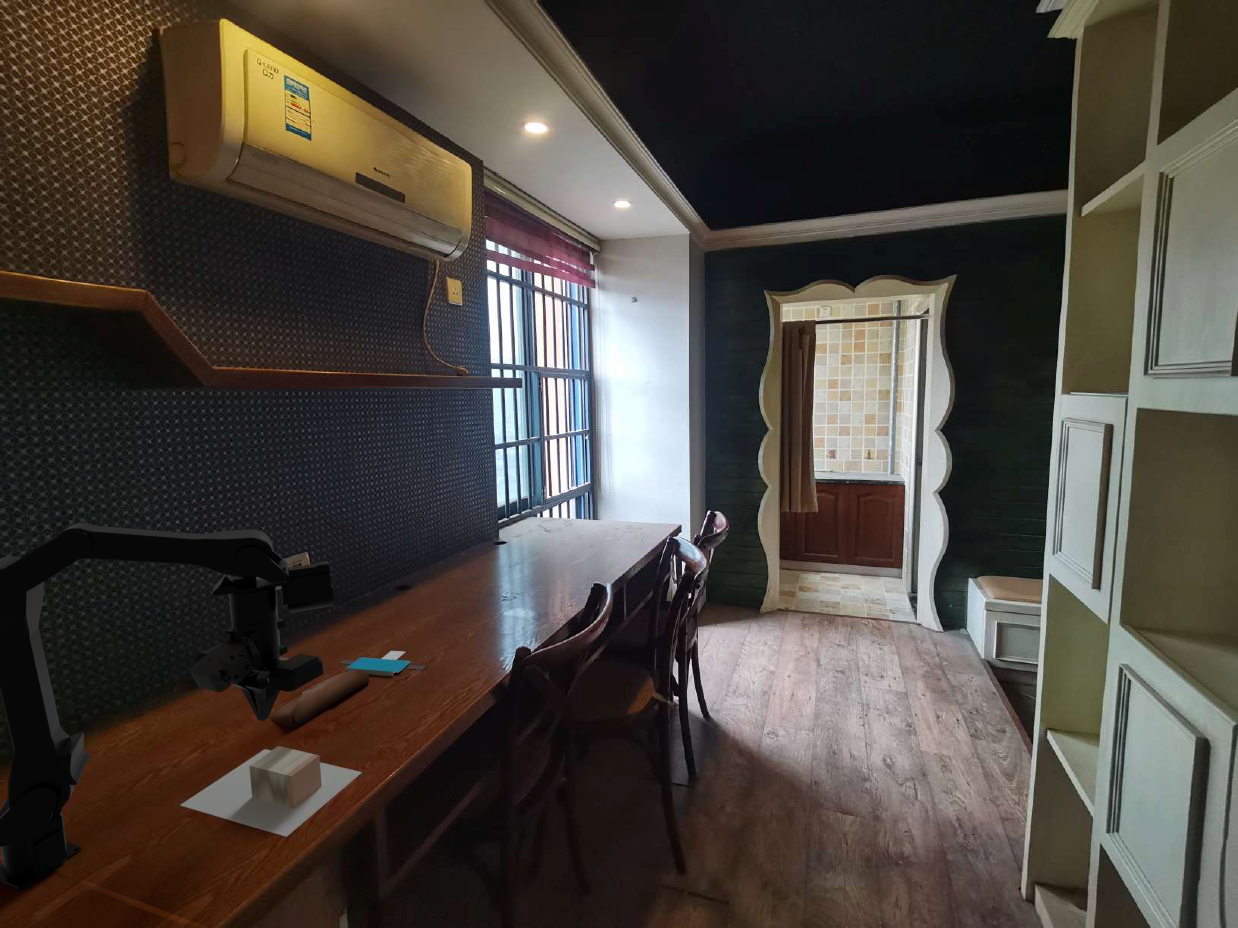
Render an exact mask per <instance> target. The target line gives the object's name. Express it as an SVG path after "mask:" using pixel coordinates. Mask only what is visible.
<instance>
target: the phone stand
mask: <svg viewBox="0 0 1238 928" xmlns="http://www.w3.org/2000/svg"><path fill="white" fill-rule="evenodd" d="M405 653H406V651H401V650H400V651H398V650H390V651H388V653H386V654H385V655H384V656H383V657H381V658H375V657H359V658H358V659H357V660H346V659H343V660H342V661H340V662H339V664H342V665H343V664H345V665H349V666H347V668H346V671H345V672H347V671H351V670H356V669H363V670H365V671H366V672H367V674H368V676H381V677H382V676H384V677H394V674H395V673H396V675H398V674H399V673H400V672H404V671H405V670H421V671H422V670H424V669H425V668H426V667H427V666H424V665H416V664H410V663H411V660H401V659H400V660H399V658H400V657H402V656H404V654H405Z"/></svg>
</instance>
